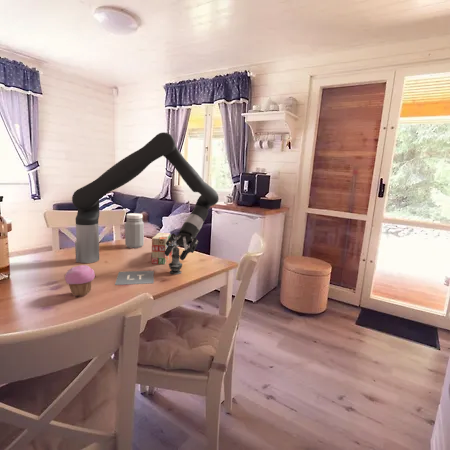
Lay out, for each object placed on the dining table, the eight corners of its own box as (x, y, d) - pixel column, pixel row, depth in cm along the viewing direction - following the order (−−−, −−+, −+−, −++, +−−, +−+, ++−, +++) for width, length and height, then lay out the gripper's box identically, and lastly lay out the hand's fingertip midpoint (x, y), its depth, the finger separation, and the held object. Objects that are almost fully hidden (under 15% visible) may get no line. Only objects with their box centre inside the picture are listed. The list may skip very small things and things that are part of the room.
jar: (122, 247, 156) (121, 214, 153) (130, 243, 166) (130, 212, 163) (138, 249, 155) (138, 216, 152) (146, 245, 164) (146, 213, 161)
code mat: (114, 285, 107) (114, 284, 107) (118, 272, 120) (118, 271, 120) (153, 283, 111) (153, 283, 110) (153, 271, 124) (153, 270, 124)
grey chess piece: (184, 271, 125) (185, 244, 123) (178, 275, 120) (178, 247, 117) (172, 269, 127) (173, 242, 125) (165, 273, 122) (166, 245, 119)
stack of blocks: (162, 251, 154) (162, 228, 152) (174, 251, 154) (174, 229, 152) (151, 263, 133) (151, 237, 131) (165, 264, 133) (165, 238, 131)
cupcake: (98, 288, 103) (97, 262, 101) (91, 299, 95) (90, 270, 93) (71, 289, 101) (69, 262, 100) (61, 300, 93) (60, 270, 91)
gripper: (175, 219, 129) (156, 249, 122) (201, 223, 122) (182, 255, 114) (183, 229, 135) (165, 258, 127) (208, 234, 127) (190, 265, 120)
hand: (173, 257), depth 121 cm, fingers open, 8 cm apart
